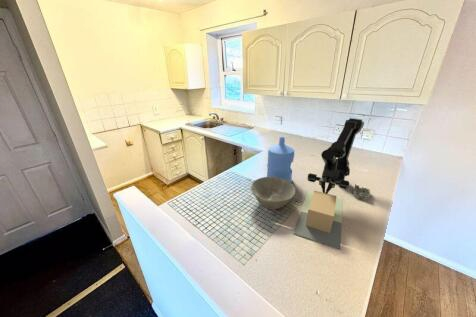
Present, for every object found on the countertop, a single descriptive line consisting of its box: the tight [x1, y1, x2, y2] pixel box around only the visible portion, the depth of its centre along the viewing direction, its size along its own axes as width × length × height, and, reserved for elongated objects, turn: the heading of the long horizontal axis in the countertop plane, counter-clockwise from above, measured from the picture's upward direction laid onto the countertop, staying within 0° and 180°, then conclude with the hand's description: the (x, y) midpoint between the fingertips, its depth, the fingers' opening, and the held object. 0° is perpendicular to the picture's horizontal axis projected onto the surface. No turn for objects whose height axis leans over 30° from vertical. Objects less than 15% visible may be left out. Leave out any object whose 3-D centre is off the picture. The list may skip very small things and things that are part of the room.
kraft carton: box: [306, 190, 337, 233], centre depth 89 cm, size 16×10×9 cm, turn 152°
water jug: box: [266, 136, 295, 183], centre depth 119 cm, size 16×16×28 cm
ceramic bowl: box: [250, 176, 296, 210], centre depth 100 cm, size 22×23×10 cm
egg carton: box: [353, 183, 371, 201], centre depth 107 cm, size 11×8×4 cm
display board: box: [292, 190, 344, 251], centre depth 93 cm, size 36×18×1 cm, turn 152°
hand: (324, 197), depth 95 cm, fingers closed, pressing on kraft carton
